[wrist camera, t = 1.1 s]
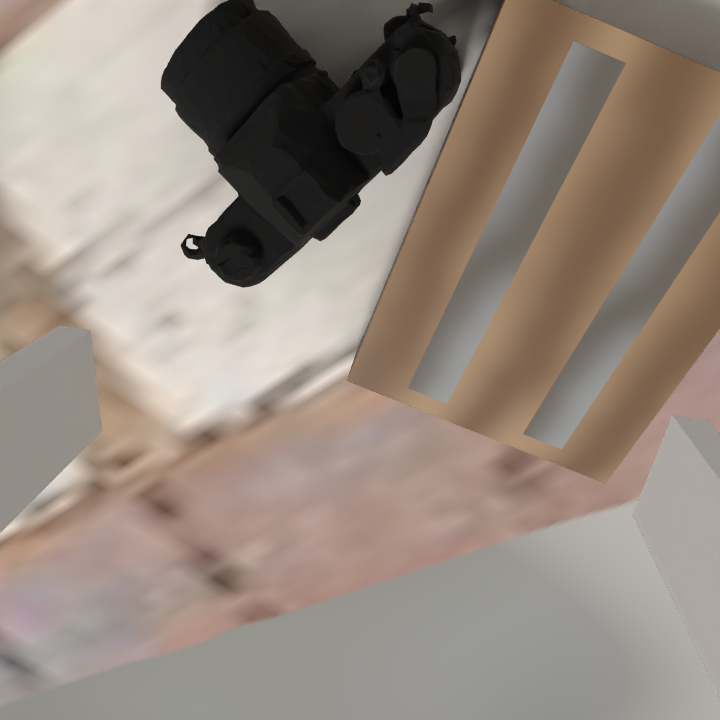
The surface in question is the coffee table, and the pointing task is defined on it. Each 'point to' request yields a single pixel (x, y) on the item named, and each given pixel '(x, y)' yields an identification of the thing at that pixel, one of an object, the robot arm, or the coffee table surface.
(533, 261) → the wooden pallet
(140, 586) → the coffee table surface
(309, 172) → the film camera
